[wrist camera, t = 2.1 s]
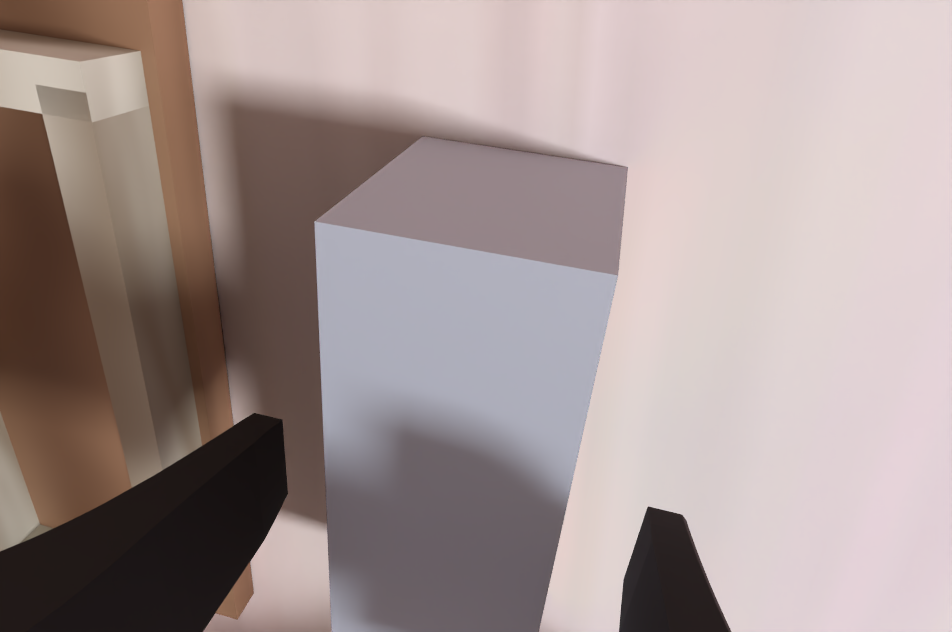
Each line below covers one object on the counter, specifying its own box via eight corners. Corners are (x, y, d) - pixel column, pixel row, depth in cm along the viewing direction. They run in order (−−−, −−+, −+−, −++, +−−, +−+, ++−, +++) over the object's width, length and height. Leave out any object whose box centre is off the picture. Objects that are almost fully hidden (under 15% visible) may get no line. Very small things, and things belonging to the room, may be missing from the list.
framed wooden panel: (180, -10, 12) (83, -3, 10) (253, 592, 21) (210, 663, 19) (-163, -56, 13) (-315, -59, 11) (44, 533, 22) (-19, 593, 20)
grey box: (628, 164, 12) (617, 275, 8) (540, 579, 18) (508, 769, 14) (425, 133, 13) (314, 221, 8) (406, 544, 19) (335, 717, 14)
